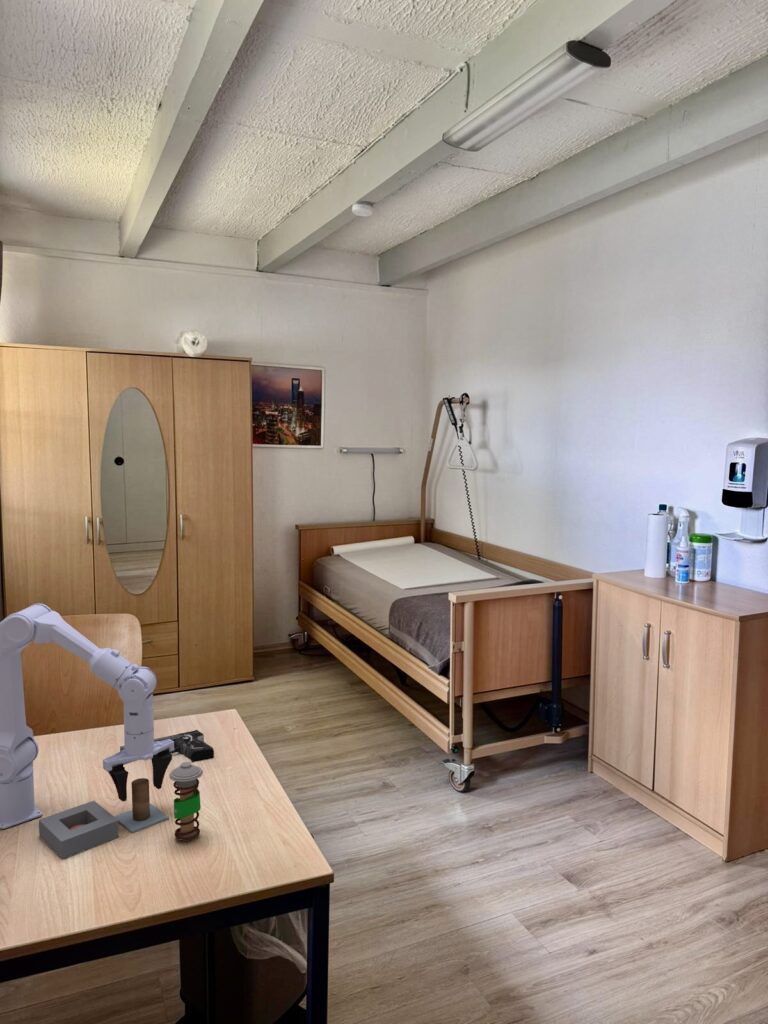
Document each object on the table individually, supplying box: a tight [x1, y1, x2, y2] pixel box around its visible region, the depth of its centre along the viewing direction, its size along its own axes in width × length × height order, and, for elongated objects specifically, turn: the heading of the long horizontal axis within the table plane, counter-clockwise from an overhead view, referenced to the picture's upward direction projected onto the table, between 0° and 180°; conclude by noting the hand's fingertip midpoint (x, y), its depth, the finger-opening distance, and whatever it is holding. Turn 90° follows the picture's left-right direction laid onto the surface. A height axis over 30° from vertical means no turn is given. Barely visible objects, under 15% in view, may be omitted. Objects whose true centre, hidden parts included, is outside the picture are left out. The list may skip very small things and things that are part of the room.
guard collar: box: [38, 800, 120, 860], centre depth 144 cm, size 11×11×4 cm
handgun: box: [119, 729, 215, 763], centre depth 181 cm, size 20×3×14 cm
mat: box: [113, 803, 170, 834], centre depth 151 cm, size 8×8×1 cm
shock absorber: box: [168, 761, 204, 842], centre depth 144 cm, size 6×6×15 cm
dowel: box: [131, 777, 151, 821], centre depth 151 cm, size 3×3×8 cm
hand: (140, 793), depth 151 cm, fingers open, 7 cm apart
